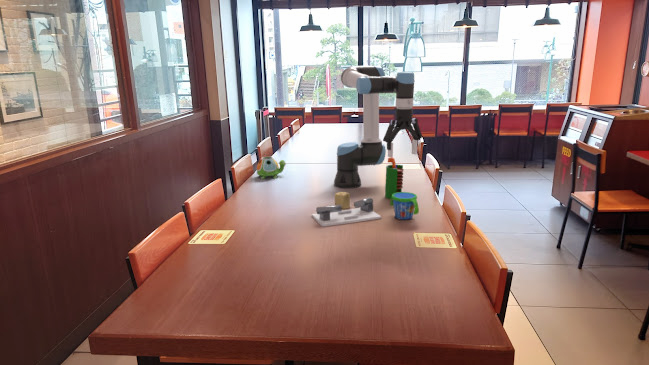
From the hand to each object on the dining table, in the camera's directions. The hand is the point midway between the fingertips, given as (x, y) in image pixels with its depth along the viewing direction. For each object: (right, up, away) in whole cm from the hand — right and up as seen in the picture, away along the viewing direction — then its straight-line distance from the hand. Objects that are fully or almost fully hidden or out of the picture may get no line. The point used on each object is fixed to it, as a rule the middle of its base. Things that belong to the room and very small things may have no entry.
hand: (402, 155), depth 192 cm
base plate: (-26, -28, -6) cm, 38 cm away
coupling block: (-27, -24, +7) cm, 37 cm away
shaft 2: (-18, -26, -1) cm, 32 cm away
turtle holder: (-68, -9, +67) cm, 96 cm away
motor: (0, -20, +24) cm, 31 cm away
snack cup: (-1, -28, -6) cm, 28 cm away
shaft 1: (-33, -29, -9) cm, 45 cm away
